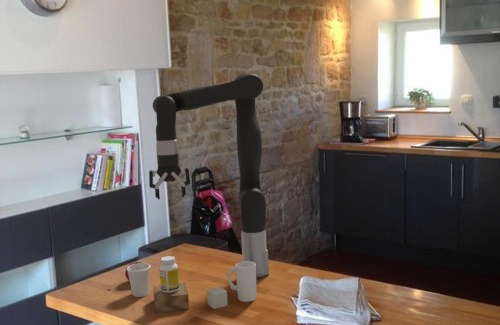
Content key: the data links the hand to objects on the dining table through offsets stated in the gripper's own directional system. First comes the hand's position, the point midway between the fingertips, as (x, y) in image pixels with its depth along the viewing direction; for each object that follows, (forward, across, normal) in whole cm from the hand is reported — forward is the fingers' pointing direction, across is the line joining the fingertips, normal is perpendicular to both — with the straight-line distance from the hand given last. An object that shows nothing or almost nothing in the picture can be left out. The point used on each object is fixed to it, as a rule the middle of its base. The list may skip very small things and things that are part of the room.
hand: (170, 197), depth 201 cm
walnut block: (+33, +3, +16) cm, 37 cm away
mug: (+33, -21, +18) cm, 43 cm away
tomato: (+33, +14, -10) cm, 37 cm away
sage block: (+33, -12, +21) cm, 41 cm away
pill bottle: (+28, +3, +16) cm, 32 cm away
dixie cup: (+33, +13, +3) cm, 36 cm away
